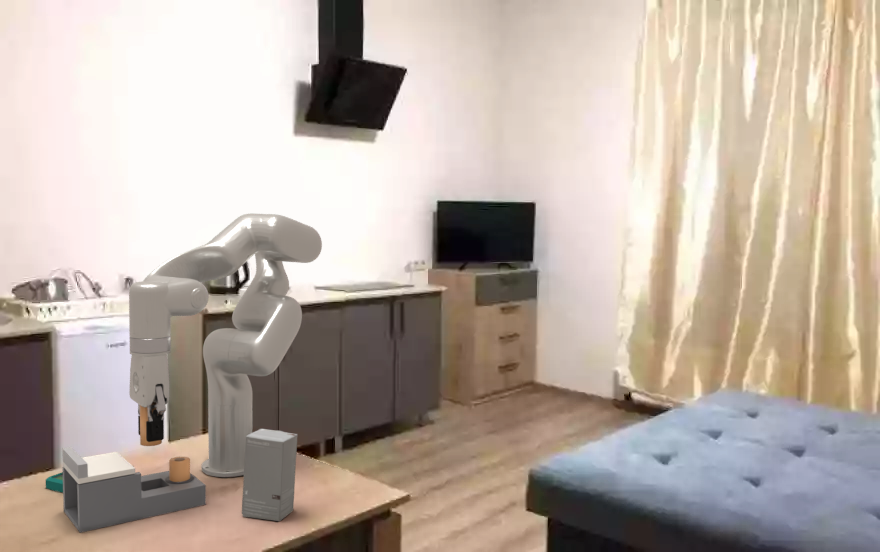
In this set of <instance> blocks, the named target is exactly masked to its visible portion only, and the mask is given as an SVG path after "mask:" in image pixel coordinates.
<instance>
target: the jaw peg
mask: <svg viewBox="0 0 880 552" xmlns="http://www.w3.org/2000/svg"><path fill="white" fill-rule="evenodd" d="M155 404H156V402H152V404H151V405H155ZM154 410H156V408H152V413H153V411H154ZM139 416H140V435H139V443H140V444H139V445H140V446H143V447H155V446H160V445H161V444H162V443H163V440H158V441H152V442H148V441H147V440H146V421H148V412H147V407H142V406H141V405H140V415H139Z"/></svg>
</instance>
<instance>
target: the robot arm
mask: <svg viewBox="0 0 880 552" xmlns="http://www.w3.org/2000/svg"><path fill="white" fill-rule="evenodd" d="M322 247H323V241H322V238H321V235H320V233H319V232H318V231H317V230H316V229H315V228H314V227H313V226H310V225H308V224H305V223H302V222H300V221H297V220H295V219H293V218H291V217H288V216H285V215H282V214H276V213H275V214H272V213H245V214H242V215H240V216H237V218H235V219H234V220H233V221H232V222H230V223H229V224H228V225H227V226H226V227H225V228H223V229H222V230H221V231H220V232H219V233H217V235H215V236H214V237H213V238H212V239H211V240H209V241H208V242H207V243H205V244H202V245H200V246H197V247H195V248H192V249H190V250H187V251H185V252H183V253H180V254H178V255H175V256H173V257H171V258H168V259H167V260H165V261H164V262H162V263H161V264H159V266H157V267H156V268H155V269H154V270H152V271H151V272H150V273H149V274H148V275H146V277H145V278H144V279H143V280H142V281H136V282H133V283H132V284H131V285H130V287H129V290H128V304H129V305H128V311H129V312H128V316H129V318H128V319H129V320H128V321H129V322H128V323H129V326H128V327H129V332H128V333H129V354H130V357H131V358H130V367H129V368H130V369H129V371H130V372H129V392H128V393H129V398H130V399H131V400H132V401H134V402H135V403H137V405H138V406H137V415H138V416H137V417H138V418H137V419H138V422H137V425H138V427H137V428H138V431H137V433H138V436H140V405H141V406H142V407H147V412H148V421H146V440H147V441H148V442H152V441H158V440H162V441H163V440H164V438H165V431H164V429H165V424H164V422H165V421H164V420H165V413H166V411H167V407H166V405H167V404H168V403H169V401H170V375H169V373H170V372H169V371H170V370H169V362H168V361H169V360H168V359H169V358H168V355H169V354H170V353H171V352H172V351H171V350H172V347H171V346H172V345H171V341H172V340H171V339H172V338H171V337H172V334H171V329H172V328H171V327H172V326H171V325H172V324H171V322H172V321H171V318H172V317H192V316H195V315H197V314H198V315H199V313H201V312H202V311H203V310H204V309H206V307H207V305H208V302H209V292H208V289H207V287H206V286H205V285H204V284H203V283H204V282H208V281H215V280H220V279H223V278H226V277H230V276H232V275H233V274H235V273H237V271H238V270H239V269H240V268H241V267H243V265H244V264H245V263H247V262H248V261H249V260H250V259H252V257H253V256H255V257H254V258H255V265H256V266H255V268H256V269H255V275H254V277H253V279H252V280H251V281H250V283H249V285H248V287H247V288H246V290H245V291H244V293H243V294H242V296H241V298H240V299H239V300H238V302H237V304H236V305H235V307H234V309H233V312H232V316H231V320H232V324H233V326H234V327H235V328H229V327H225V328H218V329H215V330H213V331H212V332H210V333H209V334H208V335H207V336H206V338H205V340H204V343H203V346H202V356H203V361H204V366H205V370H206V376H207V389H208V390H207V392H208V393H207V400H208V401H207V402H208V403H207V404H208V405H207V408H208V409H207V410H208V411H207V414H208V417H207V418H208V422H207V423H208V425H207V426H208V431H207V433H208V434H207V435H208V458H207V459H206V460H204V461H203V462H202V463H201V467H200V468H201V472H203V473H204V474H205V475H207V476H210V477H211V476H212V477H217V478H233V477H242V476H244V463H245V445H246V436H247V435H249V434H251V433H253V388H252V383H251V380H250V379H249V376H253V377H255V376H256V377H267V376H268V375H271V374H273V373H274V372H275V371H276V370H277V369H278V367H279V366H280V364H281V362H282V360H283V359H284V357H285V355H286V354H287V352H288V351H289V349H290V347H291V345H292V344H293V341H294V340H295V338H296V336H298V335H297V334H298V333H299V330H300V328H301V326H302V325H301V324H302V320H303V318H302V317H303V311H302V306H301V305H300V303H299V301H298V300H297V299H296V298H293V297H292V296H289V295H287V294H288V292H289V289H290V280H289V278H288V275H287V273H286V269H285V267H284V263H283V262H286V263H288V262H289V263H300V264H308V263H311V262H314V261H315V260H317V259H318V257H319V256H320V255H321V252H322ZM152 402H156V404H155V405H151V404H152ZM152 408H156V410H154V411H153V413H152Z"/></svg>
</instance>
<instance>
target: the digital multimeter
mask: <svg viewBox="0 0 880 552" xmlns="http://www.w3.org/2000/svg"><path fill="white" fill-rule="evenodd" d="M45 489H48V490H50V491H54V492H57V493H62V494H63V471H62V472H59V473H57V474H53V475H51V476H48V477H47V478H45Z"/></svg>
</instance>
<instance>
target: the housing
mask: <svg viewBox="0 0 880 552" xmlns="http://www.w3.org/2000/svg"><path fill="white" fill-rule="evenodd" d="M168 466H169V467H168V470H165V471H160V472H156V473H150V474H145V475H142V473H141V472H140V471H135V474H130V475H124V476H119V477H114V478H108V479H103V480H98V481H93V482H87V483H82V484H78V483H77V482H76V481H75V480H74V478H73V477H72V476H71V475H70V474H69V473H68V471H67V470H66V469H65V468H64V467H63V466H62V472H63V493H62V495H63V497H62V499H63V500H62V501H63V513H64V514H65V515H66V517H68V519H69V520H70V522H71V523H72V524H73V526H74V527H75V528H76V529H77V531H78V532H79V533H85V532H89V531H94V530H98V529H103V528H107V527H111V526H116V525H120V524H124V523H125V524H126V523H129V522H133V521H139V520H143V519H147V518H151V517H156V516H159V515H161V516H162V515H164V514H169V513H174V512H178V511H183V510H188V509H191V508H196V507H200V506H204V505H207V495H206V493H207V492H206V491H207V489H206V487H207V486H206V484H205V483H204V482H202V481H201V480H200V479H199V478H197V477H196V476H195V475H194V474H192V473H191V458H190V457H188V456H175V457H171V458H170V459H169V460H168Z"/></svg>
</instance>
